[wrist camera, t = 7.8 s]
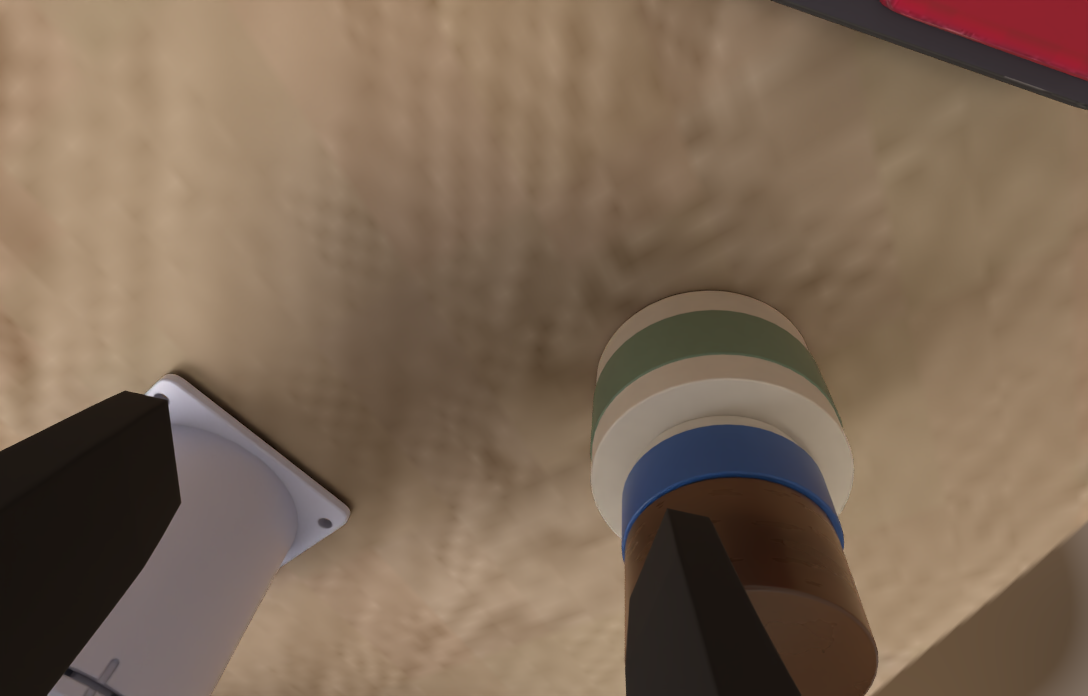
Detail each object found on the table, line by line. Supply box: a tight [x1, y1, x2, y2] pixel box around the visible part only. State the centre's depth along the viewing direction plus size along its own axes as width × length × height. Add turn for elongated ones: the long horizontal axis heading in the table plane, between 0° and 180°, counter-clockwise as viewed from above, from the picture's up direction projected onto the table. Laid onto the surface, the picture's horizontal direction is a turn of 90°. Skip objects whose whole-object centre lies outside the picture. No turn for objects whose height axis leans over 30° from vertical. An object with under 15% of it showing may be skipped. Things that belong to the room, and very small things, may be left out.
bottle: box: [590, 291, 854, 564], centre depth 18 cm, size 6×6×7 cm
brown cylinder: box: [625, 477, 878, 696], centre depth 14 cm, size 5×5×3 cm
